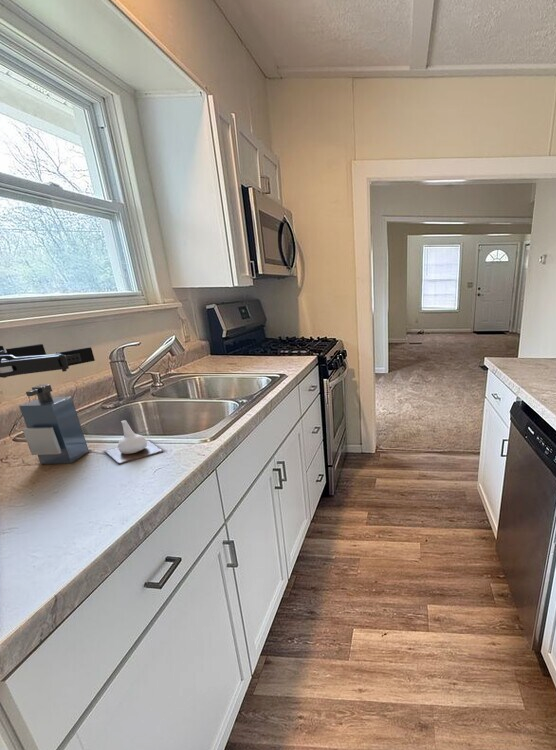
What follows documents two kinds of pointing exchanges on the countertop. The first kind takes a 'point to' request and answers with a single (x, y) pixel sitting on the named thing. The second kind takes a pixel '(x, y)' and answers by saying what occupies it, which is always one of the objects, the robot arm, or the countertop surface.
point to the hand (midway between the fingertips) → (67, 352)
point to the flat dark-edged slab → (124, 458)
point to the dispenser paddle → (41, 440)
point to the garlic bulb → (131, 440)
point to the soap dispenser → (56, 423)
